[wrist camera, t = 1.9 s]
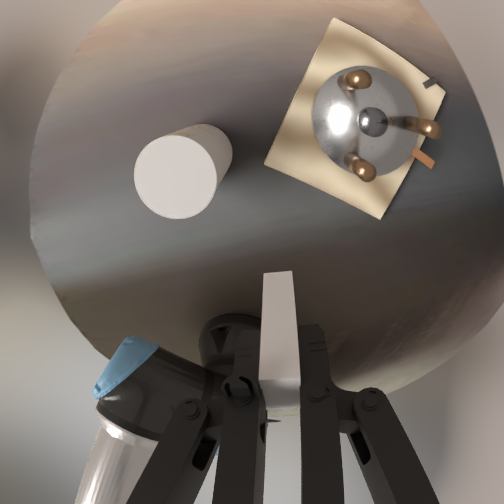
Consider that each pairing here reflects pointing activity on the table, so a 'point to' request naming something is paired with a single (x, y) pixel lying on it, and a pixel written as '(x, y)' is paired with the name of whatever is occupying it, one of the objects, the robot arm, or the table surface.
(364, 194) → the base board
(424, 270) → the table surface
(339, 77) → the capstan wheel
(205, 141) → the cup
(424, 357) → the table surface
